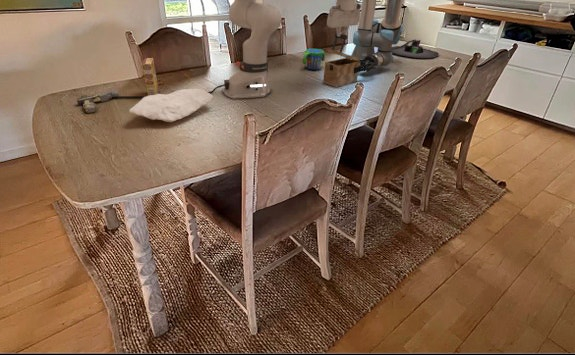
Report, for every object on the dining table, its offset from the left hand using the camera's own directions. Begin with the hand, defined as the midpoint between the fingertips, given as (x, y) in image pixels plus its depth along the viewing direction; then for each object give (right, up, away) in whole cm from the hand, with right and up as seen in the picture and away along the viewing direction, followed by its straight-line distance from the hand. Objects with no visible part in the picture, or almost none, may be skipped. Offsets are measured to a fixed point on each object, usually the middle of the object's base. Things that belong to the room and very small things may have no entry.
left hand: (341, 36), depth 178 cm
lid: (+2, -8, +7) cm, 11 cm away
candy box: (-88, -32, -11) cm, 94 cm away
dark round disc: (+61, +18, +75) cm, 98 cm away
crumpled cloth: (-74, -43, -29) cm, 90 cm away
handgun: (-106, -38, -23) cm, 115 cm away
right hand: (+5, -12, +14) cm, 19 cm away
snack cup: (-12, -6, +34) cm, 36 cm away
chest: (+1, -19, +14) cm, 24 cm away
